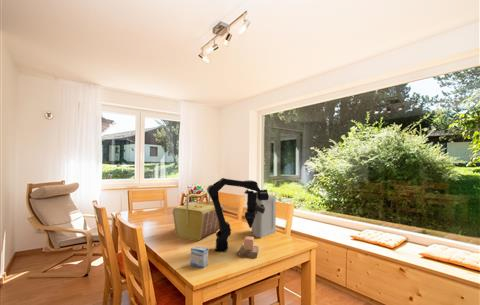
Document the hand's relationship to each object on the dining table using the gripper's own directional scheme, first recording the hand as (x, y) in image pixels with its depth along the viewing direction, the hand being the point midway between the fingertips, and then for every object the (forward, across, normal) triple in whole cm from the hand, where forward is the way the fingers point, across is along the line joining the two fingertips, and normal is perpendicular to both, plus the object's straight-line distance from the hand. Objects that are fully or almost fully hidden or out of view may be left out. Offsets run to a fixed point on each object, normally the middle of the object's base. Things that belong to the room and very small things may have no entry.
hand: (251, 225), depth 147 cm
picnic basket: (+13, +17, +40) cm, 46 cm away
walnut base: (+13, -11, 0) cm, 17 cm away
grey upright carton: (+13, +30, -4) cm, 33 cm away
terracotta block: (+10, -11, 0) cm, 15 cm away
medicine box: (+13, -31, +23) cm, 41 cm away
